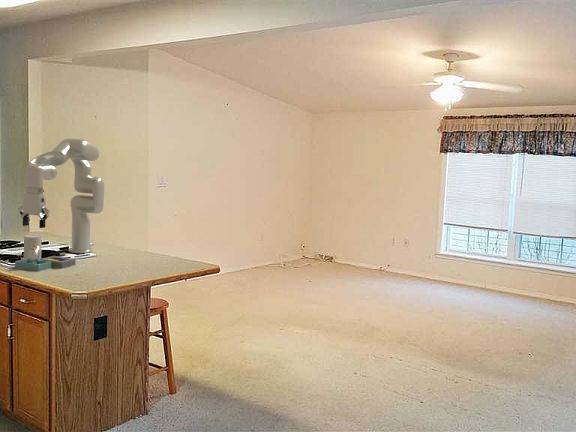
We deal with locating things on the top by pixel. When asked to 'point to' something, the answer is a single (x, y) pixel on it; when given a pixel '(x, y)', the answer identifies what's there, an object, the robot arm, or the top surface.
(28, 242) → the cup
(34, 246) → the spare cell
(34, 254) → the steel cell
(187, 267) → the top surface
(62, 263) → the gray tray
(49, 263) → the trough
